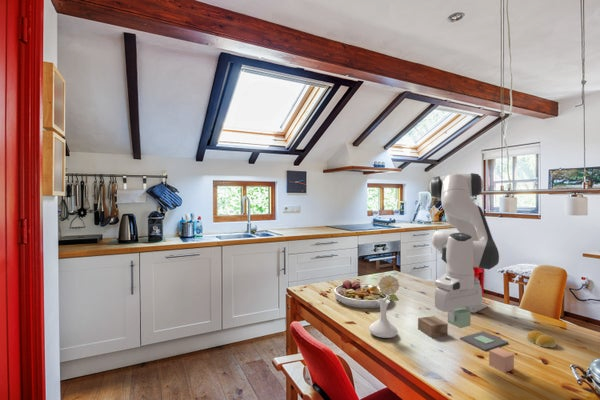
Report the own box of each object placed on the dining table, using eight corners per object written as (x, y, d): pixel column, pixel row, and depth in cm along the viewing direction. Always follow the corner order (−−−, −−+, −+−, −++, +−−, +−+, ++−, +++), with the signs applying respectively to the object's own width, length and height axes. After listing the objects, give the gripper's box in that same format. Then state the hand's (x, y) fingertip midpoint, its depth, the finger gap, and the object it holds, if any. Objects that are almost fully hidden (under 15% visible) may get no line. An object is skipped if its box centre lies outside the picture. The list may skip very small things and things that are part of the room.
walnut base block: (433, 327, 131) (433, 316, 131) (447, 335, 124) (447, 323, 124) (417, 329, 129) (418, 318, 129) (430, 338, 121) (431, 325, 121)
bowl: (402, 303, 161) (403, 288, 161) (362, 315, 144) (363, 299, 144) (361, 288, 186) (361, 275, 186) (323, 297, 169) (323, 283, 169)
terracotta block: (498, 361, 104) (498, 347, 104) (513, 369, 100) (514, 354, 100) (488, 365, 102) (489, 350, 102) (504, 373, 98) (504, 357, 98)
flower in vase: (363, 332, 125) (363, 272, 125) (380, 325, 132) (381, 268, 132) (389, 345, 115) (390, 279, 114) (407, 337, 122) (408, 275, 121)
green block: (457, 319, 110) (457, 306, 110) (470, 325, 106) (470, 311, 105) (447, 322, 108) (448, 308, 108) (460, 328, 103) (460, 313, 103)
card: (483, 332, 126) (483, 330, 126) (508, 343, 117) (508, 341, 117) (460, 339, 120) (460, 337, 120) (484, 351, 111) (484, 348, 111)
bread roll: (547, 350, 113) (548, 339, 112) (522, 339, 121) (523, 329, 121) (562, 346, 115) (562, 336, 115) (536, 336, 124) (536, 326, 124)
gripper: (471, 274, 114) (470, 310, 114) (431, 281, 105) (431, 321, 105) (487, 278, 108) (486, 317, 108) (447, 286, 99) (446, 328, 100)
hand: (459, 319), depth 107 cm, fingers closed on green block, 5 cm apart
